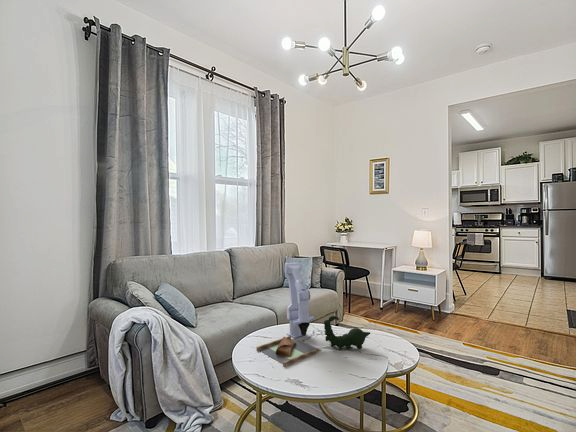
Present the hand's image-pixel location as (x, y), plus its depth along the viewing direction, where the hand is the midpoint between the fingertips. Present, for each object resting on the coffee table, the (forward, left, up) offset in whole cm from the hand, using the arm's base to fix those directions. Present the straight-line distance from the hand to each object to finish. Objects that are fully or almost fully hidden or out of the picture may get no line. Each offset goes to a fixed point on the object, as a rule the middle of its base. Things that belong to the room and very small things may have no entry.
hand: (303, 335), depth 183 cm
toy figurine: (-16, +18, -6) cm, 25 cm away
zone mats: (+10, 0, -6) cm, 11 cm away
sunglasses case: (+11, -2, -6) cm, 13 cm away
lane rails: (+12, 0, -6) cm, 13 cm away
